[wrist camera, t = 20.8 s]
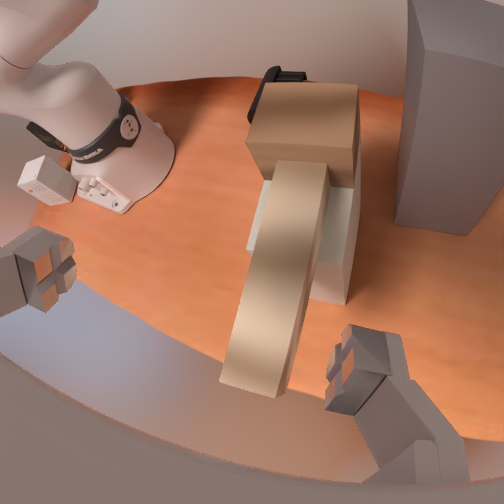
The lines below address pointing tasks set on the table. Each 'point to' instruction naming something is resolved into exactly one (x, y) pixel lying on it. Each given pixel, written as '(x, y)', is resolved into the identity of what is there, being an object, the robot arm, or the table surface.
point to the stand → (329, 239)
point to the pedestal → (451, 115)
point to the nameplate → (45, 136)
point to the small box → (48, 181)
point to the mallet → (289, 222)
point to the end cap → (274, 77)
